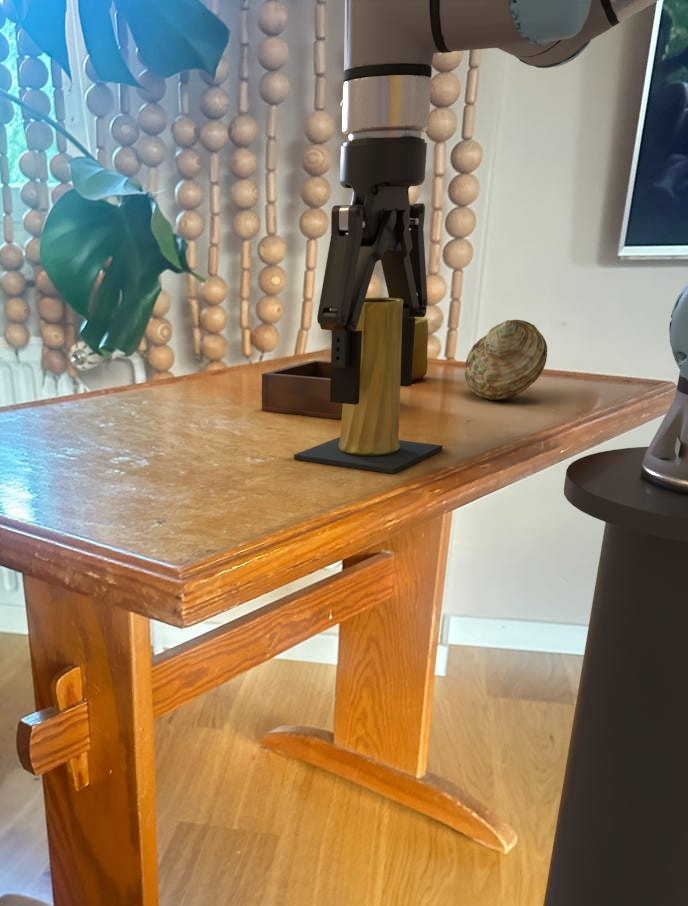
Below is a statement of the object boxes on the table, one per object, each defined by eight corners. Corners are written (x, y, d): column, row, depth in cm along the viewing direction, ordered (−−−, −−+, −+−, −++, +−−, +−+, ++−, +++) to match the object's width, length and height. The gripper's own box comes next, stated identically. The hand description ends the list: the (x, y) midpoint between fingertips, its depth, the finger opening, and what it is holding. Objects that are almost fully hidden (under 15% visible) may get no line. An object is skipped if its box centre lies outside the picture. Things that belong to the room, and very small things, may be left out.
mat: (442, 450, 94) (442, 445, 94) (393, 474, 86) (393, 468, 86) (347, 438, 100) (347, 433, 100) (293, 459, 92) (293, 454, 92)
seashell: (554, 393, 120) (565, 312, 116) (529, 408, 112) (540, 322, 108) (475, 387, 126) (482, 310, 122) (445, 401, 117) (452, 318, 113)
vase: (329, 445, 95) (333, 298, 89) (383, 440, 96) (391, 295, 90) (352, 459, 89) (358, 303, 83) (410, 453, 91) (420, 300, 85)
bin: (398, 403, 117) (400, 366, 115) (350, 420, 108) (351, 381, 106) (313, 394, 124) (314, 360, 122) (261, 410, 115) (261, 373, 113)
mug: (448, 361, 134) (432, 295, 129) (422, 394, 128) (405, 326, 123) (374, 372, 142) (356, 310, 137) (346, 404, 136) (326, 340, 131)
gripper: (403, 145, 91) (390, 374, 101) (277, 135, 75) (276, 409, 84) (475, 139, 87) (455, 379, 97) (359, 128, 71) (348, 417, 80)
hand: (372, 393), depth 90 cm, fingers open, 10 cm apart
